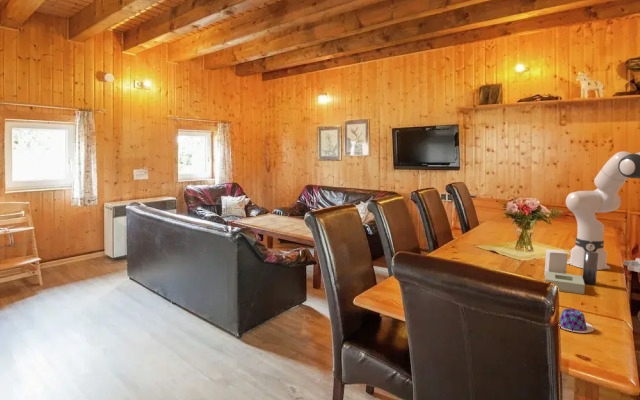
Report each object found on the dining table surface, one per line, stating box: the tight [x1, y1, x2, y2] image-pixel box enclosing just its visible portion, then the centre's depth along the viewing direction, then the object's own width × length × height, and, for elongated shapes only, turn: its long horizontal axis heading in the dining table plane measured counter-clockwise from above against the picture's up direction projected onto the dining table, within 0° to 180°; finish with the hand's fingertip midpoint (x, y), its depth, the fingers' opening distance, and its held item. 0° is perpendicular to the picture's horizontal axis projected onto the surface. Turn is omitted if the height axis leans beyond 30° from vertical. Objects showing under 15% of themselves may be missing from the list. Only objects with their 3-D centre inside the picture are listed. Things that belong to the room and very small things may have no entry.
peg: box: [582, 251, 598, 286], centre depth 173 cm, size 5×5×14 cm
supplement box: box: [543, 248, 568, 276], centre depth 181 cm, size 7×7×13 cm
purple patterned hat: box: [559, 308, 595, 334], centre depth 129 cm, size 12×12×5 cm
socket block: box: [544, 270, 586, 295], centre depth 169 cm, size 14×14×4 cm
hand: (625, 265), depth 166 cm, fingers open, 8 cm apart
